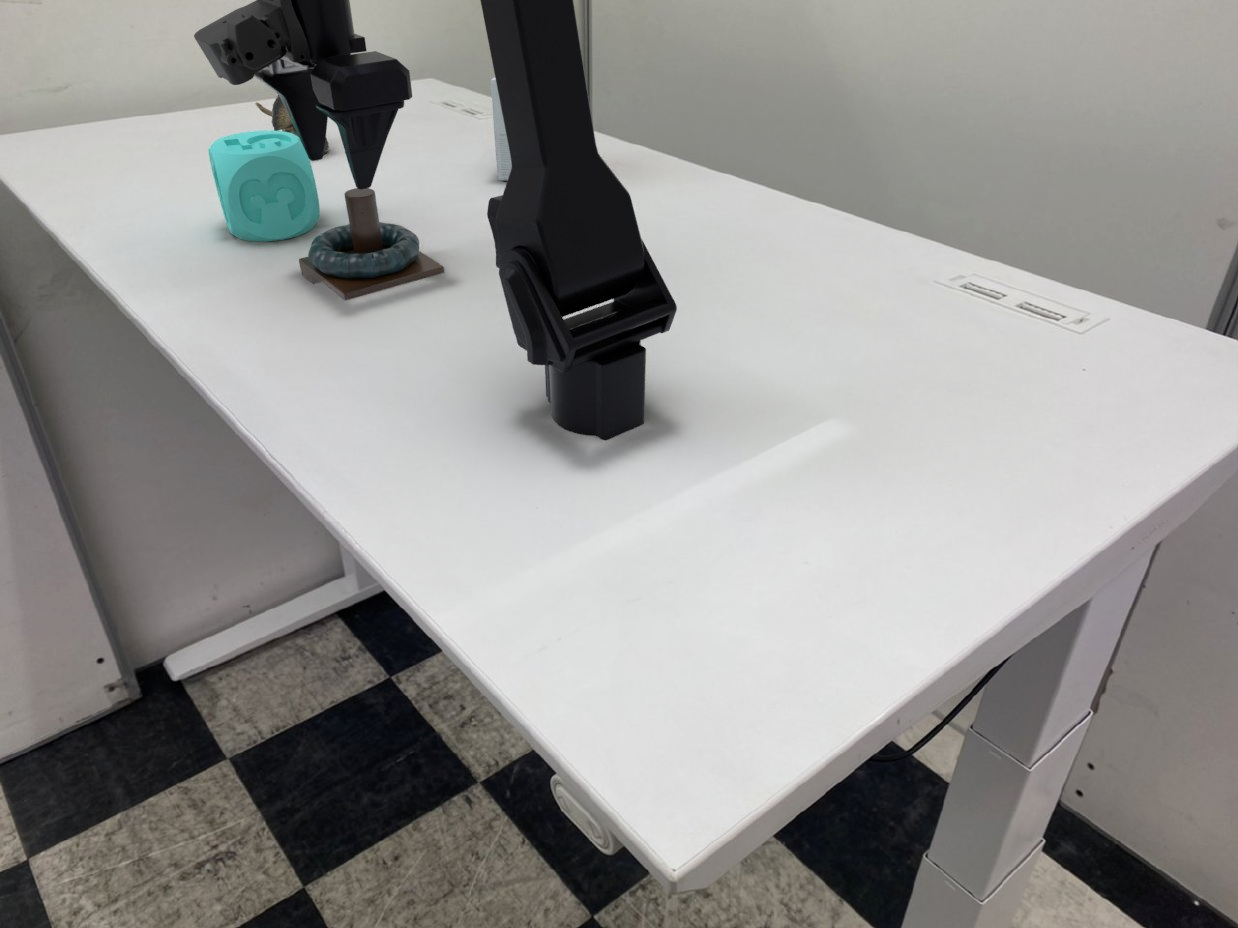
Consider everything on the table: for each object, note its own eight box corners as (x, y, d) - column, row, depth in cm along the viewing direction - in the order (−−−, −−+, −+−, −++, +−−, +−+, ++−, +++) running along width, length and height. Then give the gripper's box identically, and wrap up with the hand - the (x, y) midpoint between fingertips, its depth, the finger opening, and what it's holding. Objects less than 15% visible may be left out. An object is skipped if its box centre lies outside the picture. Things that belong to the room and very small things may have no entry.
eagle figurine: (243, 135, 110) (259, 140, 103) (264, 77, 109) (281, 77, 102) (305, 163, 114) (325, 169, 107) (325, 108, 114) (346, 110, 106)
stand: (445, 282, 79) (436, 196, 74) (347, 311, 74) (330, 220, 70) (396, 250, 84) (384, 168, 80) (301, 275, 80) (284, 189, 75)
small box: (546, 184, 100) (542, 81, 94) (496, 181, 100) (489, 78, 94) (562, 162, 106) (559, 64, 100) (514, 159, 107) (509, 62, 101)
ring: (439, 264, 78) (437, 241, 77) (340, 292, 73) (335, 268, 72) (390, 233, 84) (387, 211, 83) (294, 257, 79) (290, 234, 78)
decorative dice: (224, 220, 90) (203, 136, 86) (307, 207, 93) (291, 126, 89) (237, 248, 85) (215, 160, 80) (325, 233, 88) (309, 148, 83)
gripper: (150, -45, 70) (203, 163, 79) (240, -13, 58) (290, 228, 67) (293, -55, 75) (326, 140, 84) (401, -28, 63) (427, 196, 72)
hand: (339, 173), depth 77 cm, fingers open, 9 cm apart
